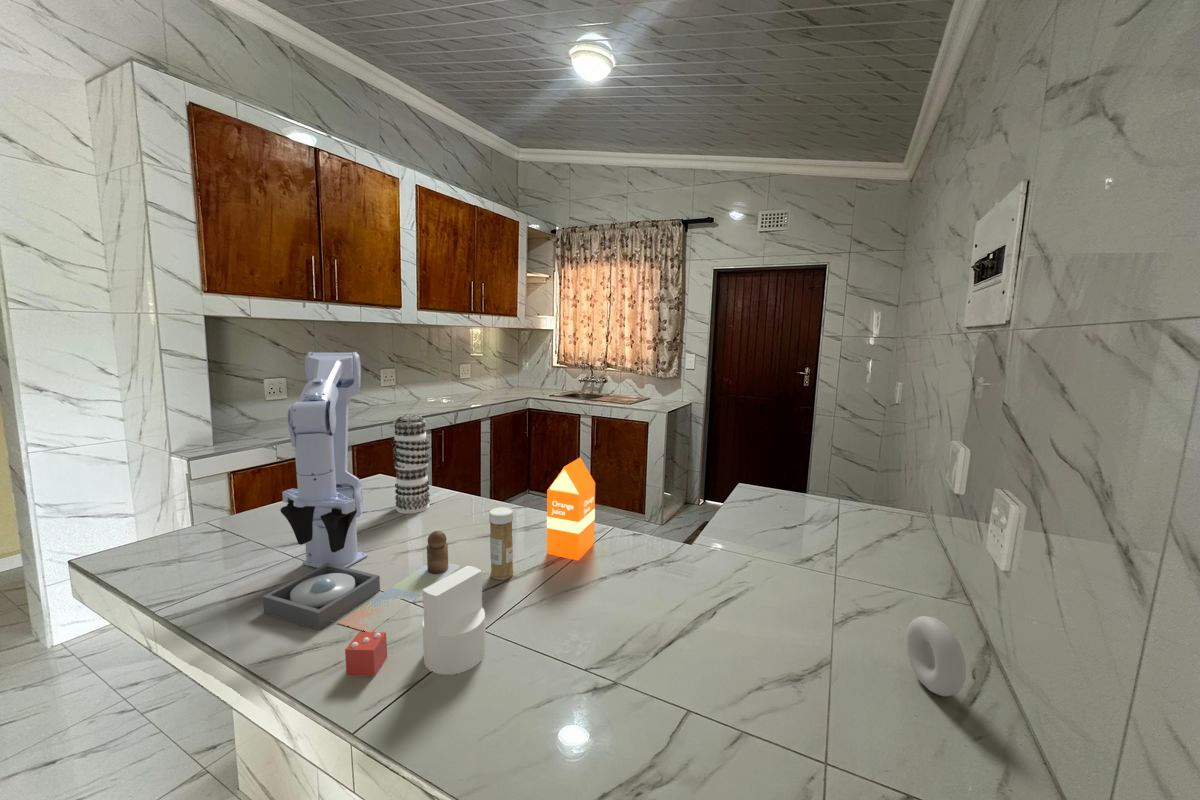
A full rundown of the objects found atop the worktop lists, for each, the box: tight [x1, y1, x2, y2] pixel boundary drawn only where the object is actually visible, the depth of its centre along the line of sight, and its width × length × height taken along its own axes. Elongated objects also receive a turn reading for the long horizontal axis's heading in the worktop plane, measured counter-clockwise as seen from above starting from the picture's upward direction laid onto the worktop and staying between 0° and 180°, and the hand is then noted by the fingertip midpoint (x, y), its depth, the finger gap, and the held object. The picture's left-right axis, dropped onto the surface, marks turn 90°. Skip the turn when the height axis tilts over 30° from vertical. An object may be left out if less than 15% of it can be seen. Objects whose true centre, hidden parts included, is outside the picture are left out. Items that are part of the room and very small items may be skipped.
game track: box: [337, 562, 462, 632], centre depth 91 cm, size 7×24×1 cm, turn 160°
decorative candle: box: [391, 414, 431, 514], centre depth 130 cm, size 9×9×25 cm
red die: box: [344, 631, 388, 677], centre depth 71 cm, size 4×4×4 cm
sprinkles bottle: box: [488, 506, 514, 581], centre depth 97 cm, size 5×5×13 cm
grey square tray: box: [261, 563, 381, 631], centre depth 87 cm, size 13×13×3 cm
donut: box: [905, 615, 967, 697], centre depth 69 cm, size 10×4×10 cm, turn 179°
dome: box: [290, 573, 355, 609], centre depth 87 cm, size 10×10×4 cm
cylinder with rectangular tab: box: [422, 565, 487, 676], centre depth 73 cm, size 9×9×12 cm
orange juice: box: [546, 457, 596, 561], centre depth 108 cm, size 8×9×20 cm
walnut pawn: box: [426, 530, 449, 574], centre depth 99 cm, size 4×4×8 cm
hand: (321, 546), depth 86 cm, fingers open, 7 cm apart
